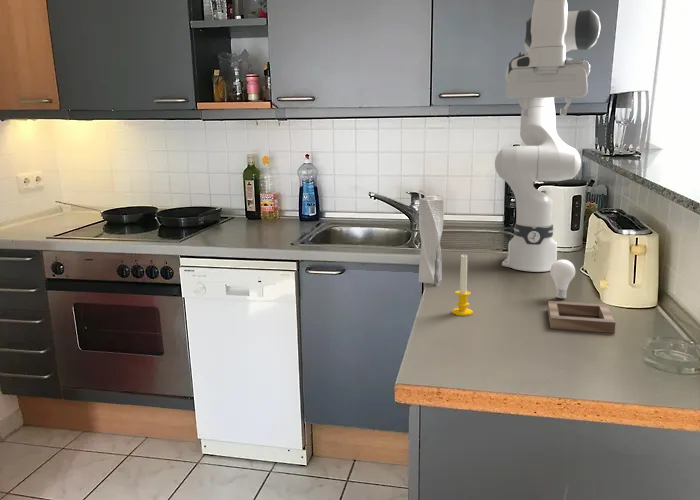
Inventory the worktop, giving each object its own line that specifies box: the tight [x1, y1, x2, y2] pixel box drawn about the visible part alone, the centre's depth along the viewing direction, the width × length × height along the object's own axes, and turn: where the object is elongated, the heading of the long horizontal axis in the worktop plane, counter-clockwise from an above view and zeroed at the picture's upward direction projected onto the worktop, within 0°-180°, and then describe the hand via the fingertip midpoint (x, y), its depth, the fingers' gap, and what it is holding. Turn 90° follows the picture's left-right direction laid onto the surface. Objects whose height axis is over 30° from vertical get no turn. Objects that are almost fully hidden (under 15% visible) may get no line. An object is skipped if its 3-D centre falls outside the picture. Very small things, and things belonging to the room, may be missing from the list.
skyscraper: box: [418, 190, 445, 287], centre depth 177 cm, size 8×8×28 cm
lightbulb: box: [549, 259, 576, 300], centre depth 162 cm, size 6×6×11 cm
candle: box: [451, 252, 474, 317], centre depth 151 cm, size 5×5×16 cm
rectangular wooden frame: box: [547, 300, 616, 334], centre depth 146 cm, size 14×14×2 cm
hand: (544, 116), depth 156 cm, fingers open, 8 cm apart
